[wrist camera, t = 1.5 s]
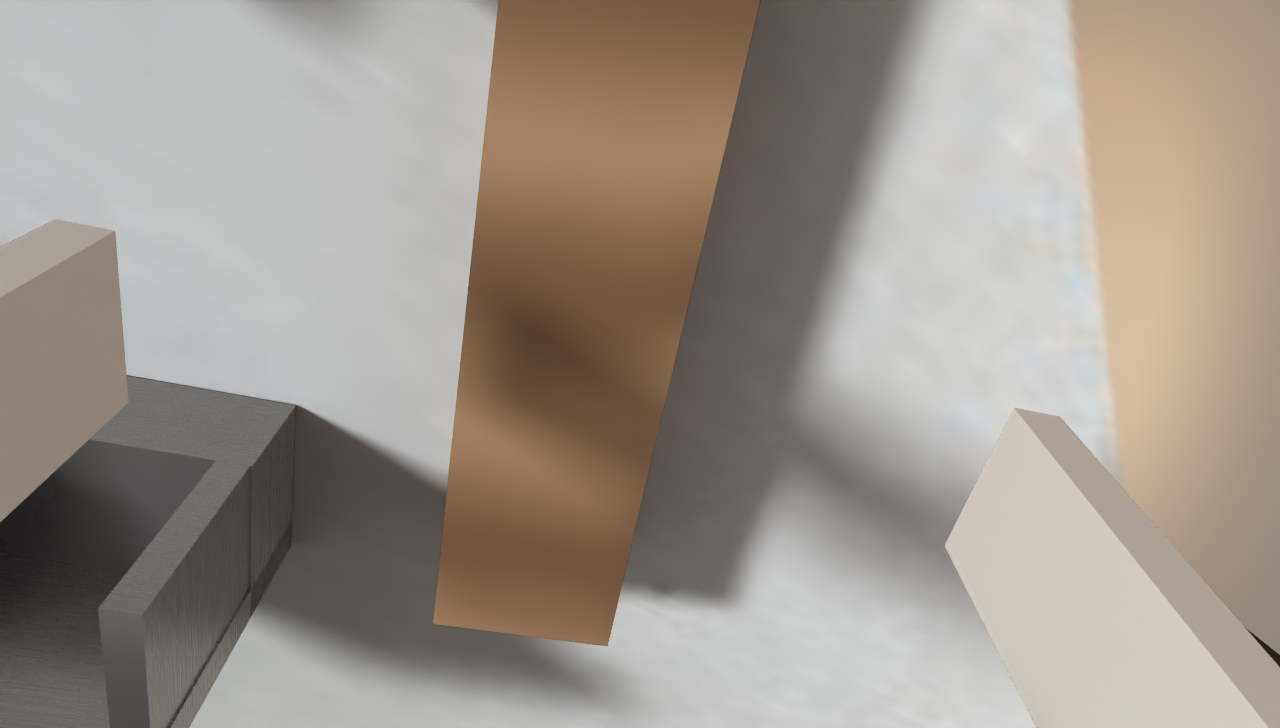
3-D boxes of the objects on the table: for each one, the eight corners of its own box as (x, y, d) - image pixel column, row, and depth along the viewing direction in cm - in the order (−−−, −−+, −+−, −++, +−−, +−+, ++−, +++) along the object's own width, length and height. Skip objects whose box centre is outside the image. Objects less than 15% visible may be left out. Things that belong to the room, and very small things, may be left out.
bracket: (290, 545, 25) (72, 934, 15) (2, 500, 24) (-429, 883, 14) (296, 405, 23) (45, 753, 13) (-21, 349, 22) (-550, 680, 12)
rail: (610, 535, 25) (607, 646, 21) (463, 514, 25) (432, 623, 21) (769, -188, 17) (814, -229, 13) (552, -239, 17) (530, -299, 13)
